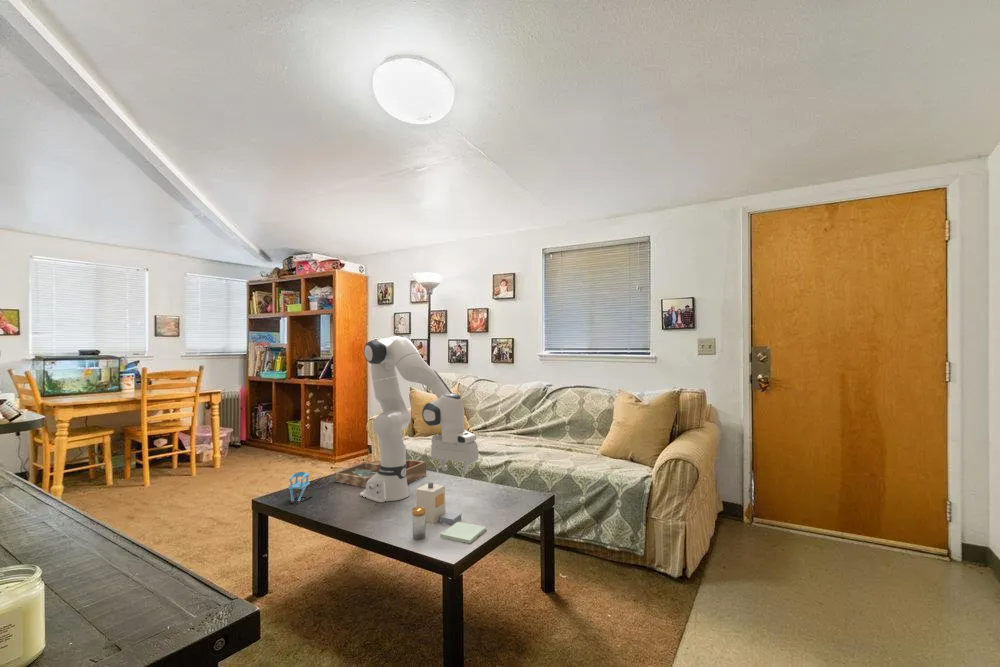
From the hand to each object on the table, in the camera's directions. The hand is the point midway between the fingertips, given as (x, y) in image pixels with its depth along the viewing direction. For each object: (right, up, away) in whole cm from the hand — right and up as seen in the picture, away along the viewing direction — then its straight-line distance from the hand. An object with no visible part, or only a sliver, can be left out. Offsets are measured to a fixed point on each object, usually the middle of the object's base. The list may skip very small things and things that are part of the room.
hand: (454, 471), depth 174 cm
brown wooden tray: (-50, -20, +55) cm, 77 cm away
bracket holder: (-30, -20, +54) cm, 65 cm away
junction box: (-10, -19, +4) cm, 22 cm away
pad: (+4, -19, -11) cm, 22 cm away
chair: (-71, -20, +25) cm, 78 cm away
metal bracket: (-50, -21, +55) cm, 78 cm away
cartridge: (-11, -19, -13) cm, 26 cm away
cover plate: (-2, -20, +1) cm, 20 cm away
